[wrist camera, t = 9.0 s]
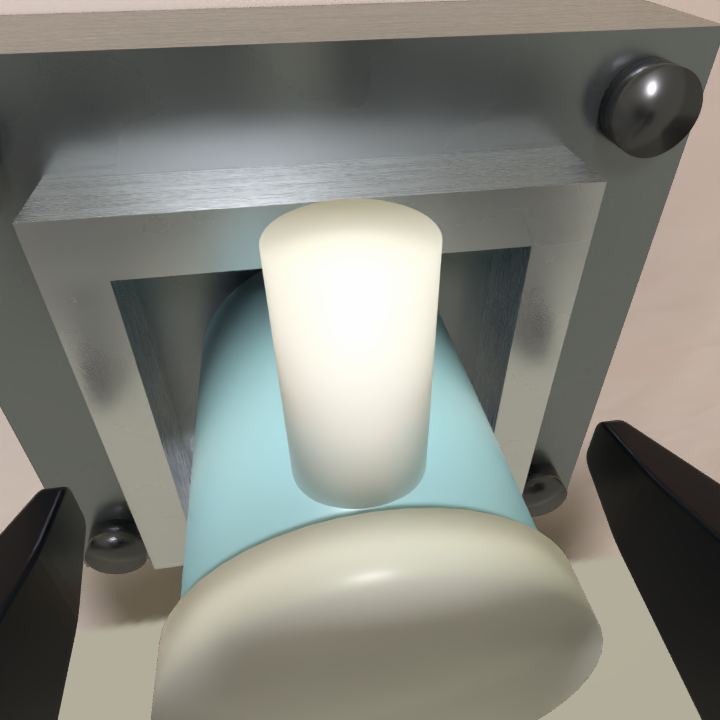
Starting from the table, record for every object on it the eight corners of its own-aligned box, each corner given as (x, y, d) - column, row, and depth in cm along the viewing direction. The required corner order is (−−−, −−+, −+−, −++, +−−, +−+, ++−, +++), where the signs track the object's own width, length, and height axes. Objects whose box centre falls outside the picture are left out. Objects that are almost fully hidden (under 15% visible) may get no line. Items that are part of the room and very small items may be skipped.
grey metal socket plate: (107, 476, 18) (74, 622, 14) (-89, 18, 10) (-262, 94, 7) (523, 427, 19) (586, 547, 16) (629, -5, 12) (794, 47, 8)
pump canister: (217, 464, 14) (202, 809, 9) (120, 100, 9) (-55, 420, 4) (444, 434, 14) (556, 742, 9) (480, 77, 9) (773, 322, 4)
